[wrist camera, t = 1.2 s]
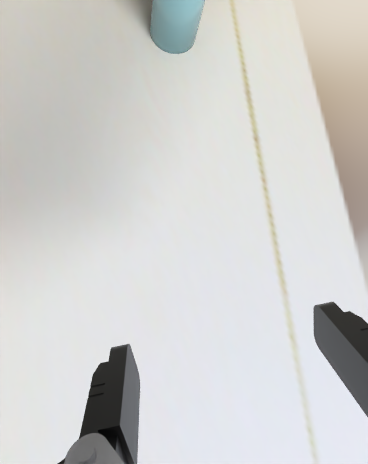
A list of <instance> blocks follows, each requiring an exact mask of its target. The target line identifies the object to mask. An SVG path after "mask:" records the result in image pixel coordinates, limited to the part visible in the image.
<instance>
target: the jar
mask: <svg viewBox="0 0 368 464" xmlns="http://www.w3.org/2000/svg"><path fill="white" fill-rule="evenodd" d="M204 3H205V0H152V12H151V25H150V34H151V38H152V40H153V42H154V43H155V44H156V45H157V46H158V47H159V48H160V49H162V50H163V51H166V52H168V53H173V54H179V53H184V52H186V51H188V50H189V49H190V48H191V47H192V46H193V44H194V42H195V38H196V34H197V30H198V26H199V22H200V19H201V15H202V11H203V7H204Z"/></svg>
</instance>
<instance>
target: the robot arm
mask: <svg viewBox="0 0 368 464" xmlns="http://www.w3.org/2000/svg"><path fill="white" fill-rule="evenodd" d="M314 337H315V341H316V343H317V346H318V347H319V349H320V350H321V352H322V353H323V355H324V356H325V357H326V359H327V360H328V362H329V363H330V365H331V366H332V367H333V369H334V370H335V372H336V373H337V374H338V376H339V377H340V379H341V380H342V381H343V383H344V384H345V386H346V387H347V389H348V390H349V391H350V393H351V394H352V396H353V397H354V398H355V400H356V401H357V403H358V404H359V405H360V407H361V408H362V410H363V411H364V413H365V414H366V415H367V417H368V324H367V323H366V322H365V321H364V320H363V319H362V318H361V317H359V316H357V315H355V314H353V313H352V312H350V311H348V312H343V311H342V310H341V309H340V308H339V307H338V306H337V305H336V304H335V303H334V302H329V303H324V304H320V305H315V306H314ZM139 398H140V379H139V372H138V369H137V365H136V362H135V359H134V356H133V353H132V349H131V346H130V345H129V344H126V345H122V346H117V347H112V348H111V351H110V356H109V362H104V363H100V364H99V366H98V368H97V369H96V371H95V372H94V374H93V377H92V382H91V388H90V391H89V398H88V400H87V405H86V409H85V414H84V419H83V423H82V428H81V433H80V437H79V440H77V441H76V442H75V443H74V444H73V445H72V447H71V448H70V449H69V451H68V453H67V455H66V458H65V459H64V460H62V461H61V462H60V463H58V464H137V452H138V425H139Z"/></svg>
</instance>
